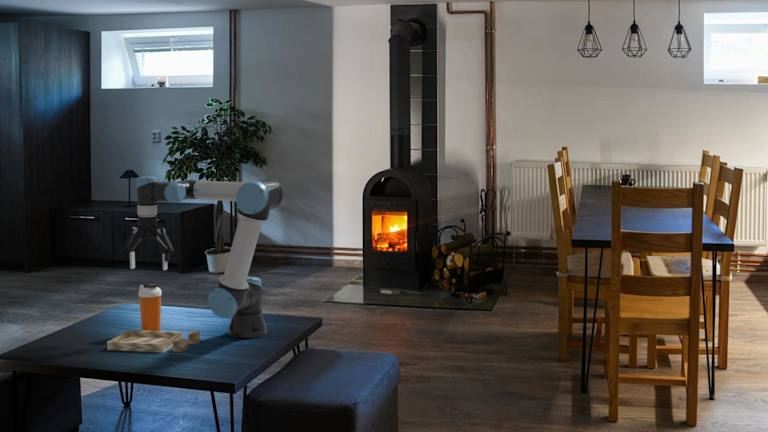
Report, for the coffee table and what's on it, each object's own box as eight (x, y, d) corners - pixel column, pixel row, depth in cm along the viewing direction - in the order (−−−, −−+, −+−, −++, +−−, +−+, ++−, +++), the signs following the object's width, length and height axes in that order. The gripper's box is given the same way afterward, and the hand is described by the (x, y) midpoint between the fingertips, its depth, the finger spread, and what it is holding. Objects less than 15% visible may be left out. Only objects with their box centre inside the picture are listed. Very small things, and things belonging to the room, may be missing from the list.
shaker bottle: (156, 336, 332) (154, 287, 330) (135, 335, 334) (133, 286, 332) (166, 331, 341) (165, 282, 339) (146, 330, 343) (144, 281, 341)
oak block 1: (188, 349, 315) (187, 339, 315) (182, 352, 311) (182, 341, 311) (178, 348, 316) (178, 338, 316) (172, 351, 313) (172, 340, 312)
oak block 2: (200, 341, 327) (199, 331, 326) (199, 344, 323) (198, 333, 322) (189, 341, 326) (189, 331, 326) (188, 344, 322) (188, 334, 322)
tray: (182, 339, 328) (182, 332, 328) (163, 352, 311) (163, 344, 310) (129, 337, 332) (128, 329, 331) (107, 349, 314) (107, 341, 314)
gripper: (181, 215, 334) (182, 268, 336) (122, 213, 338) (123, 266, 340) (173, 217, 327) (175, 271, 329) (113, 216, 330) (114, 269, 333)
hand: (148, 269), depth 335 cm, fingers open, 13 cm apart
